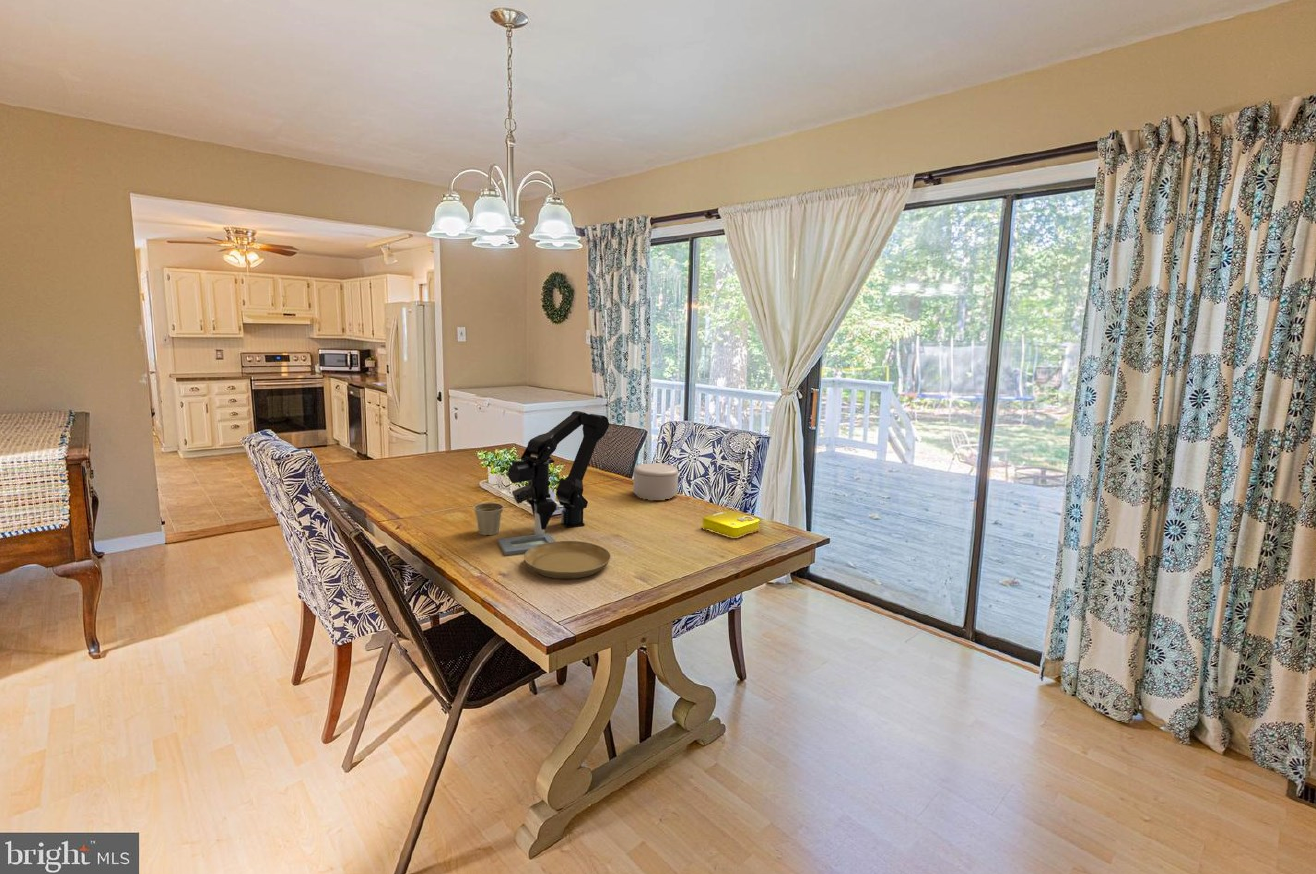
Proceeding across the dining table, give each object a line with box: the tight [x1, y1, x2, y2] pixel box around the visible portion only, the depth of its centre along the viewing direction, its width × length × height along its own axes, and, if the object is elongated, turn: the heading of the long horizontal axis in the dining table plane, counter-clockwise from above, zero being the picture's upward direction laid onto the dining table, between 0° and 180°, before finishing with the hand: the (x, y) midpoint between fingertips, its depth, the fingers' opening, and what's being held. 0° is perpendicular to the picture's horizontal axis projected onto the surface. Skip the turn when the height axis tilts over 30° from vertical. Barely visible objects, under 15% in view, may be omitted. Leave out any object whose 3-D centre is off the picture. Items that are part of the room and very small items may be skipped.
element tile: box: [701, 509, 761, 537], centre depth 211 cm, size 15×15×5 cm
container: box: [632, 462, 679, 501], centre depth 250 cm, size 18×18×12 cm
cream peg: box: [534, 511, 546, 535], centre depth 199 cm, size 3×3×9 cm
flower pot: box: [472, 502, 505, 536], centre depth 199 cm, size 9×9×9 cm
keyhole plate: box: [497, 532, 556, 557], centre depth 189 cm, size 16×12×1 cm
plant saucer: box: [523, 540, 612, 580], centre depth 175 cm, size 24×24×3 cm
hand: (539, 525), depth 200 cm, fingers open, 9 cm apart
